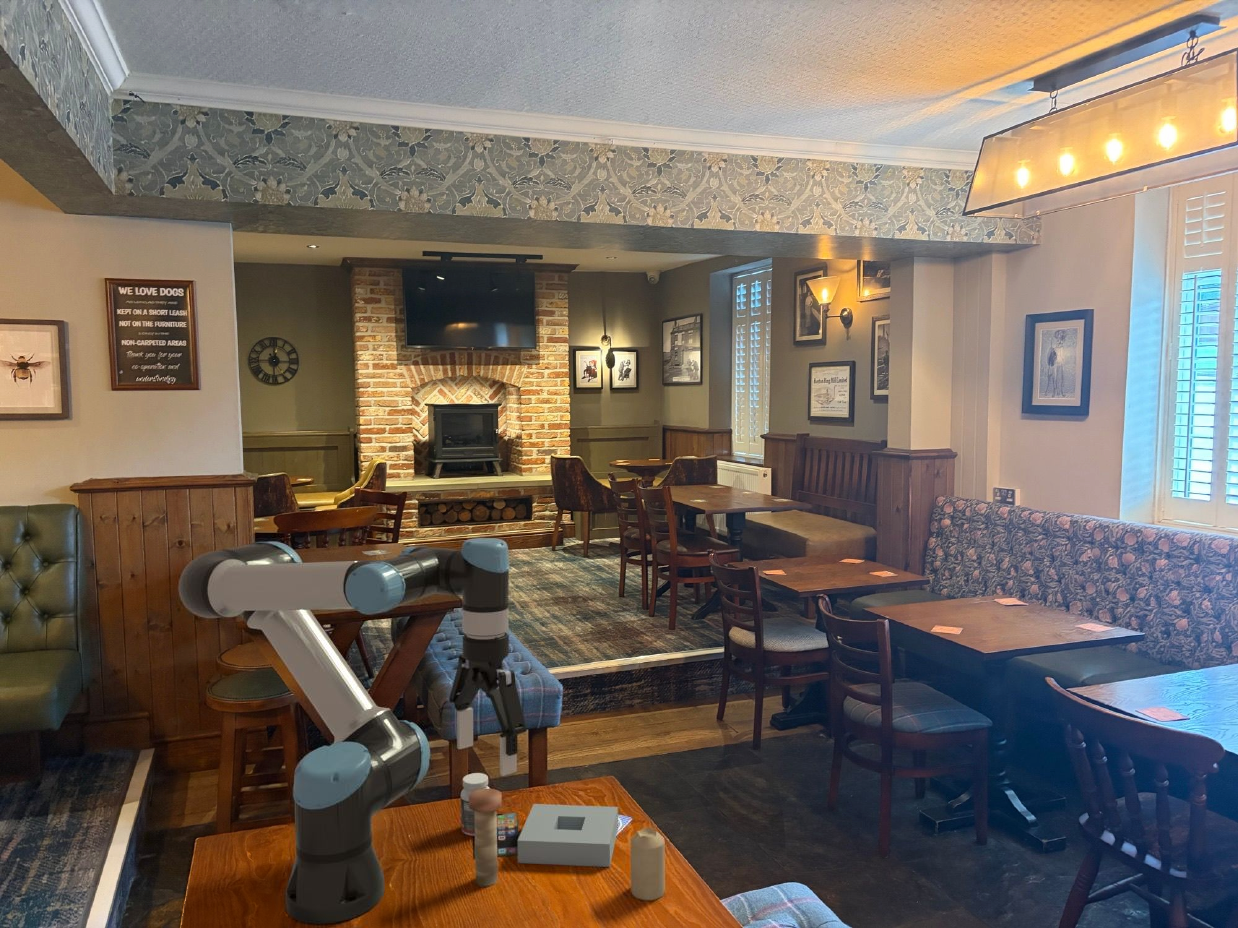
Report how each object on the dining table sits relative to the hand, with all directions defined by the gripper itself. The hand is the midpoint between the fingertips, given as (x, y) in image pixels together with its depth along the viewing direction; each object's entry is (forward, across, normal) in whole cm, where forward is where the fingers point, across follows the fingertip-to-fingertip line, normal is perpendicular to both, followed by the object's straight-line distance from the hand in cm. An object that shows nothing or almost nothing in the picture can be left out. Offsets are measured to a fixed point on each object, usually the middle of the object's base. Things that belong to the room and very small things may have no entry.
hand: (485, 759), depth 143 cm
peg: (+20, 0, 0) cm, 21 cm away
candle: (+20, -20, -18) cm, 34 cm away
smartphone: (+21, +12, -9) cm, 26 cm away
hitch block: (+20, 0, -18) cm, 27 cm away
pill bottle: (+21, +16, -8) cm, 28 cm away
